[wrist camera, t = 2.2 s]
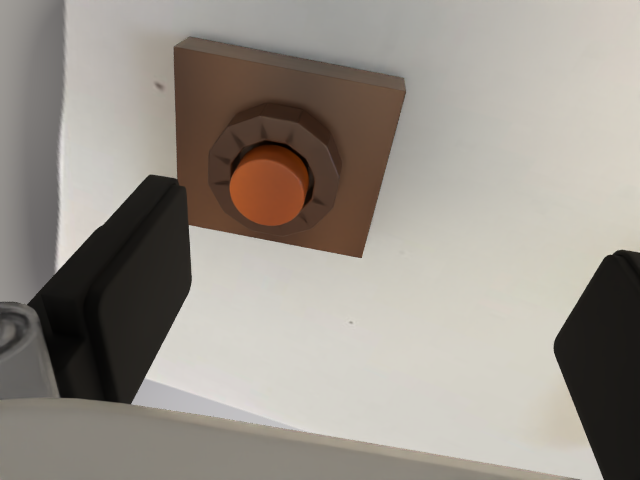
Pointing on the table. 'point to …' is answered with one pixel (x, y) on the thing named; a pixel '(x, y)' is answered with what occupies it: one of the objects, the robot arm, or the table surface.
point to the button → (269, 185)
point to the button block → (284, 138)
